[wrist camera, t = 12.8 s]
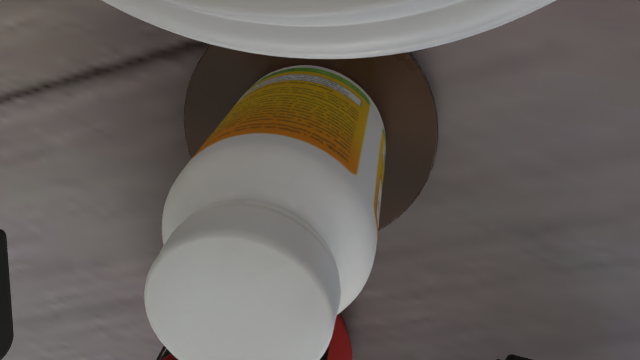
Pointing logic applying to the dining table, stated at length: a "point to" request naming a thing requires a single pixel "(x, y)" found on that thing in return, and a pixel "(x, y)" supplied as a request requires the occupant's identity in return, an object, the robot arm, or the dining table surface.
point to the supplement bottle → (271, 223)
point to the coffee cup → (327, 23)
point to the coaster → (369, 73)
